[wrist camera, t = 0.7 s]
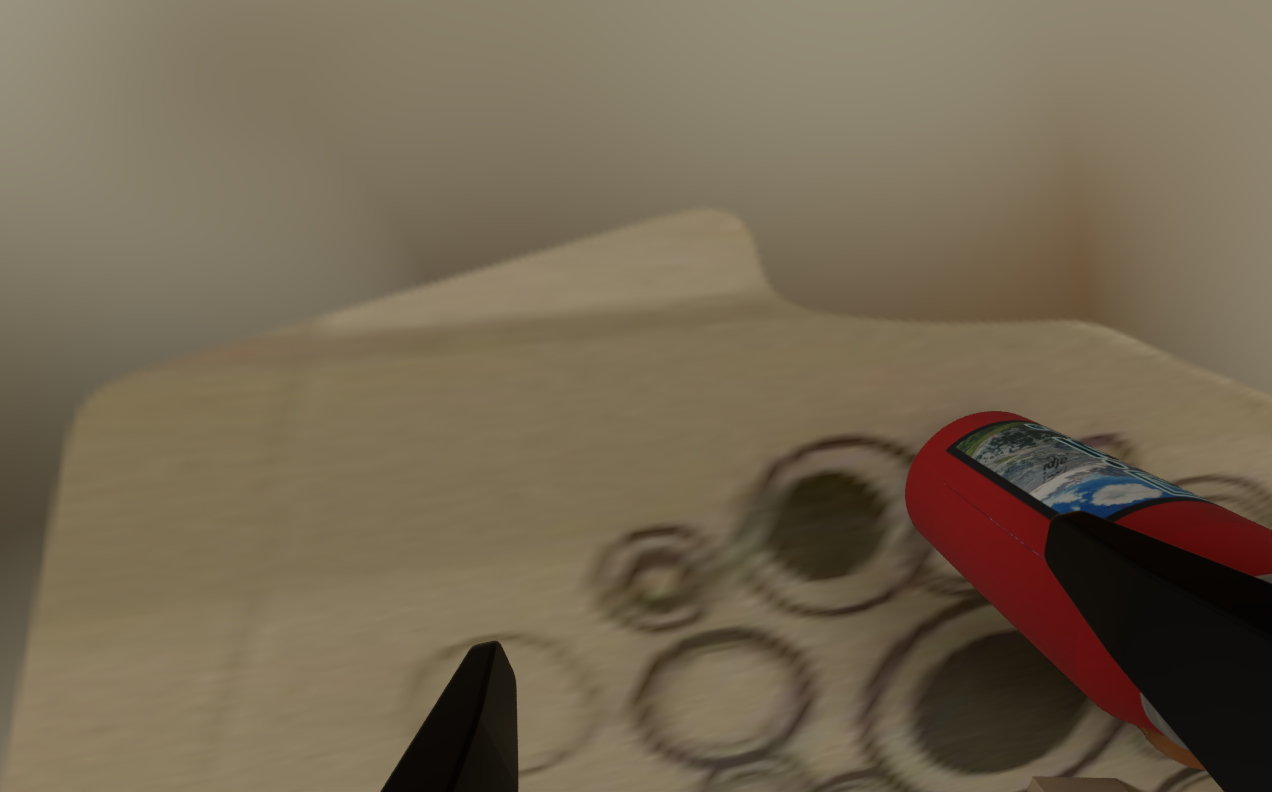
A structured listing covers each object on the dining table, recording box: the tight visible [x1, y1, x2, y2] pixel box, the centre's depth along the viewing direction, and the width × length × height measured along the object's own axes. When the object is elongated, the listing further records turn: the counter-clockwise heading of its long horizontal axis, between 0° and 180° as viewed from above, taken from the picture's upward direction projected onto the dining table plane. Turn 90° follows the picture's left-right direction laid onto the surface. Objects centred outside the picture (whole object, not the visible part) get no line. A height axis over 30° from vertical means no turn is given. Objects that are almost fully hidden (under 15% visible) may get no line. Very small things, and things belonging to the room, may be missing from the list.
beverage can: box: [905, 411, 1272, 751], centre depth 20 cm, size 7×7×12 cm
